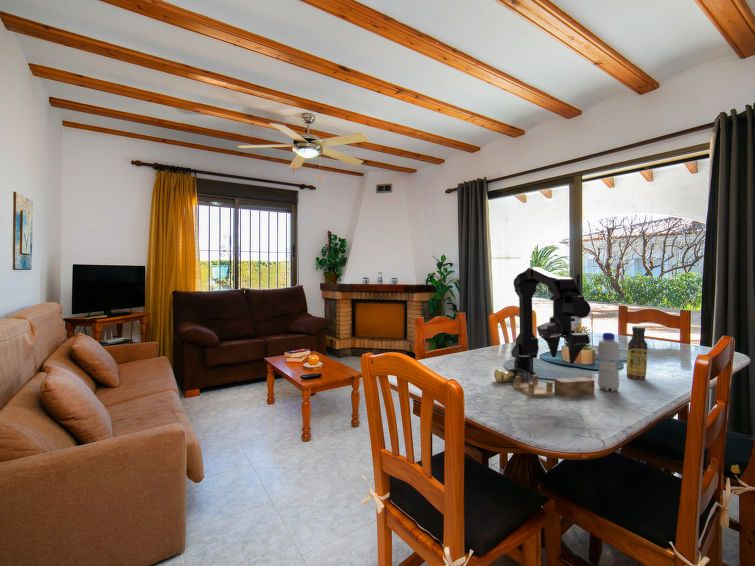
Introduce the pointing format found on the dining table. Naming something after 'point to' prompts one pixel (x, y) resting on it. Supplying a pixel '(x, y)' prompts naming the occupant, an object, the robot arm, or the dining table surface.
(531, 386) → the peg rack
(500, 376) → the brass bolt
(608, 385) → the bottle
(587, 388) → the walnut bar
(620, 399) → the dining table surface
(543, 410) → the dining table surface
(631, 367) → the sauce bottle
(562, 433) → the dining table surface
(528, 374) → the keeper
